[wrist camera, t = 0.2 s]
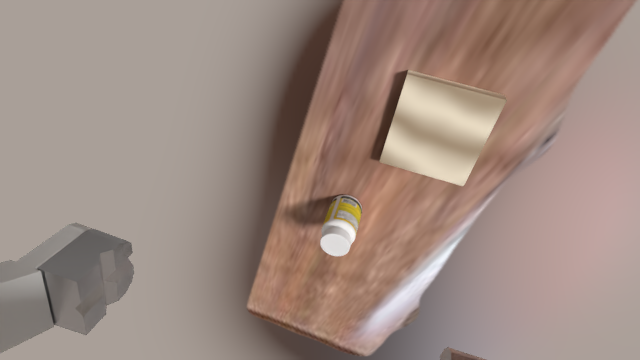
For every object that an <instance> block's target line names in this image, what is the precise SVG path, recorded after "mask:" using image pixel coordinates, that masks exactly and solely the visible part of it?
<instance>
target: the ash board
mask: <svg viewBox="0 0 640 360" xmlns="http://www.w3.org/2000/svg"><path fill="white" fill-rule="evenodd" d="M506 101H507V100H506V97H505V95H503V94H499V93H495V92H491V91H488V90H484V89H480V88H476V87H472V86H468V85H465V84H461V83H457V82H453V81H449V80H445V79H441V78H438V77H434V76H430V75H426V74H422V73H418V72H415V71H411V70H408V72H407V75H406V79H405V82H404V85H403V88H402V91H401V94H400V97H399V101H398V104H397V107H396V110H395V113H394V116H393V119H392V123H391V126H390V129H389V132H388V135H387V138H386V141H385V144H384V148H383V151H382V154H381V157H380V161H379V162H381V163H384V164H388V165H391V166H395V167H398V168H402V169H405V170H408V171H412V172H415V173H419V174H422V175H426V176H429V177H433V178H436V179H440V180H443V181H447V182H450V183H454V184H457V185H461V186H464V184H465V182H466V180H467V178H468V176H469V174H470V172H471V170H472V168H473V166H474V164H475V162H476V160H477V158H478V156H479V154H480V152H481V150H482V149H483V147H484V145H485V143H486V141H487V139H488V137H489V135H490V133H491V131H492V129H493V127H494V125H495V123H496V121H497V119H498V117H499V115H500V113H501V111H502V109H503V107H504V105H505V103H506Z"/></svg>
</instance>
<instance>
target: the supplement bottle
mask: <svg viewBox="0 0 640 360" xmlns="http://www.w3.org/2000/svg"><path fill="white" fill-rule="evenodd" d="M361 213H362V206H361V204H360V202H359V201H358V200H357V199H356V198H354V197H352V196H349V195H340V196H337V197H336V198H334V199H333V200H332V202H331V205H330V207H329V210H328V213H327V215H326V218H325V221H324V224H323V226H322V237H321V241H320V244H321V247H322V249H323V250H324V251H325V252H326V253H328V254H330V255H332V256H343V255H345V254H346V253H347V252H348V251H349V249H350V246H351V244H352V243H353V241H354V240H355V237H356V233H357V229H358V225H359V221H360V217H361Z"/></svg>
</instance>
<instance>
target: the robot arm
mask: <svg viewBox="0 0 640 360" xmlns="http://www.w3.org/2000/svg"><path fill="white" fill-rule="evenodd" d="M131 254H132V245H131V243H130V242H128V241H126V240H123V239H120V238H117V237H115V236H112V235H109V234H107V233H104V232H101V231H98V230H95V229H92V228H89V227H87V226H84V225H81V224H78V223H73V224H69V225H67V226H66V227H64V228H63V229H62V230H60V231H59V232H57V233H56V234H54V235H53V236H52V237H51V238H49V239H47V240H46V241H45V242H43V243H42V244H40V245H39V246H37V247H36V248H35V249H33V250H32V251H30V252H29V253H28V254H26V255H25V256H23V257H22V258H20V259H19V260H18V261H16V262H15V261H12V260H9V261H5V262H1V263H0V353H2V352H4V351H6V350H8V349H10V348H12V347H14V346H16V345H18V344H20V343H22V342H24V341H26V340H28V339H30V338H32V337H34V336H36V335H38V334H40V333H42V332H44V331H46V330H48V329H50V328H52V327H54V325H57V326H60V327H63V328H66V329H69V330H72V331H75V332H78V333H81V334H84V335H87V334H88V333H89V332H90V331H91V329H93V327H94V326H95V325H96V324H97V323H98V322H99V321H100V320H101V319H102V318H103V317H104V316H105V315H106V308H107V305H109V304H111V303H114V302H116V301H119V299H120V298H121V297H122V296H123V295H124V294H125V293H126V291H127V290H128V288H129V286H130V284H131V282H132V279H133V274H134V270H133V269H134V267H133V264H132V263H131V262H130V260H129V259H128V257H129V256H130V255H131ZM440 360H486V359H483V358H480V357H477V356H473V355H470V354H467V353H464V352H461V351H458V350H455V349H452V348H449V347H447V348H446V349H444V351H443V352H442V354H441V356H440Z"/></svg>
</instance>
